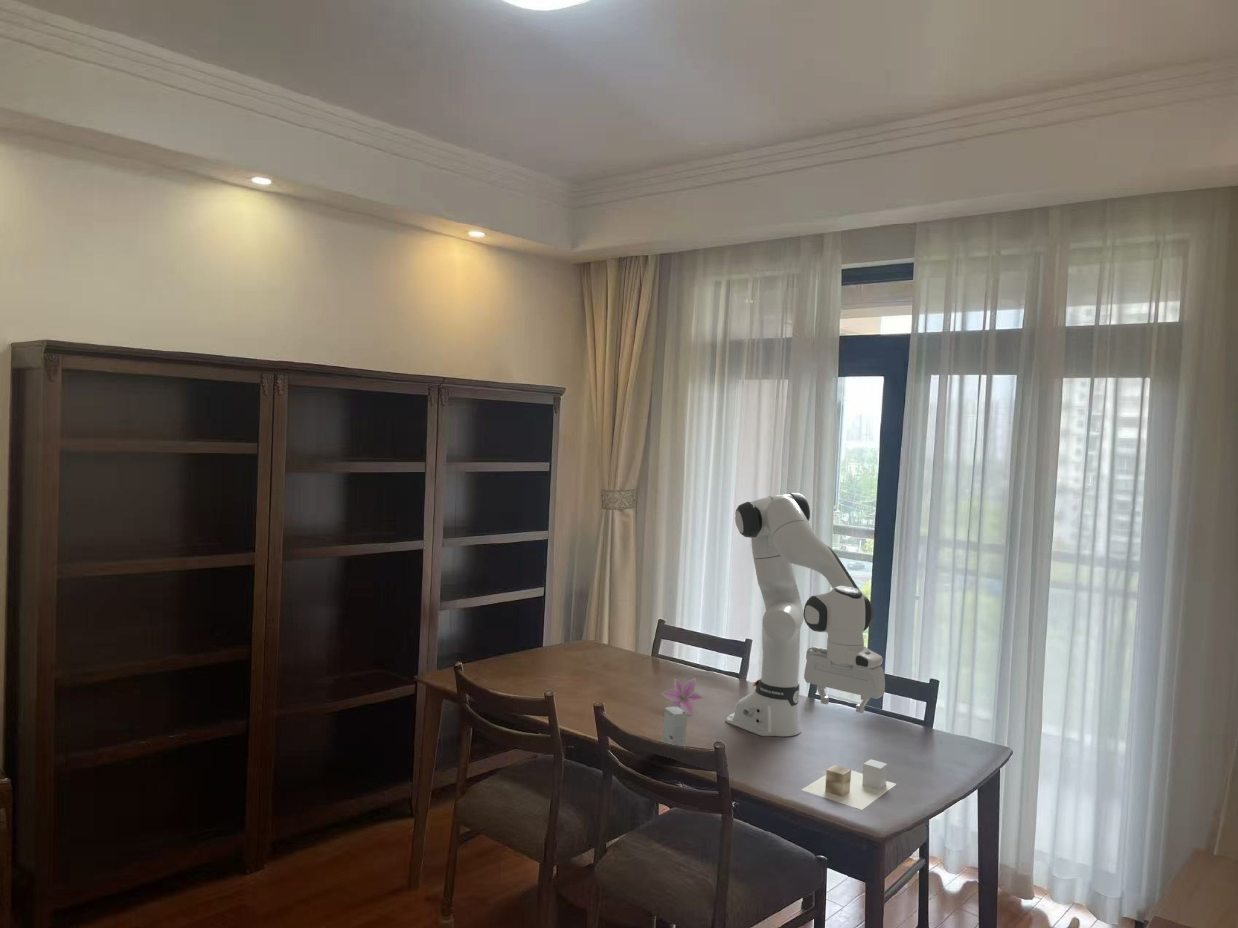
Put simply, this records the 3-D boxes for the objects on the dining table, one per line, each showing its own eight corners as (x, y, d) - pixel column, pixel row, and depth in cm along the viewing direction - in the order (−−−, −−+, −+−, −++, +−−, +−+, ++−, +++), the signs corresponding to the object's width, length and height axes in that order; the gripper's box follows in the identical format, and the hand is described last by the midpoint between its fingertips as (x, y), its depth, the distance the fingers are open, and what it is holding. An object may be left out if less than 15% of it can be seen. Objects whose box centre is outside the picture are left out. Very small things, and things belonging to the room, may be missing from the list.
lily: (656, 709, 281) (657, 688, 275) (678, 689, 288) (680, 668, 283) (686, 729, 274) (688, 708, 269) (708, 708, 282) (711, 687, 277)
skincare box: (660, 750, 242) (663, 706, 242) (675, 748, 244) (677, 705, 243) (670, 758, 236) (673, 714, 236) (685, 756, 238) (688, 712, 238)
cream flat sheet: (800, 790, 219) (801, 789, 219) (838, 767, 237) (838, 766, 236) (861, 810, 209) (861, 809, 209) (896, 784, 226) (896, 783, 226)
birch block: (825, 791, 219) (826, 769, 219) (833, 785, 223) (834, 764, 223) (842, 796, 216) (843, 774, 216) (849, 791, 220) (851, 769, 220)
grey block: (862, 784, 225) (863, 763, 225) (869, 779, 228) (870, 758, 228) (879, 789, 222) (880, 768, 222) (886, 784, 225) (887, 763, 225)
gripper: (801, 647, 222) (798, 700, 223) (878, 663, 210) (875, 720, 210) (812, 643, 227) (809, 695, 228) (889, 658, 214) (886, 714, 215)
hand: (842, 707), depth 219 cm, fingers open, 8 cm apart
